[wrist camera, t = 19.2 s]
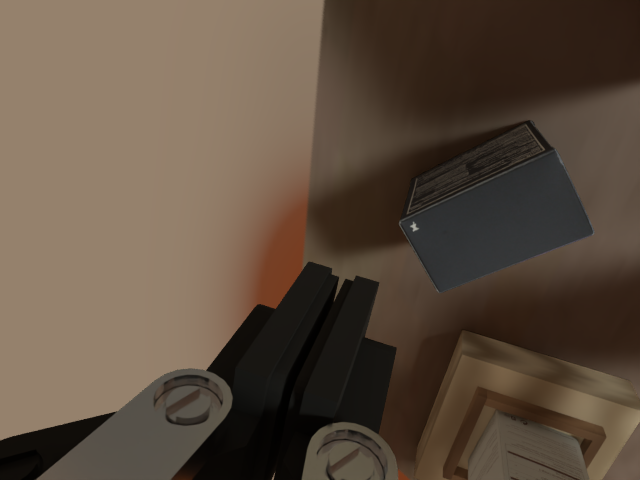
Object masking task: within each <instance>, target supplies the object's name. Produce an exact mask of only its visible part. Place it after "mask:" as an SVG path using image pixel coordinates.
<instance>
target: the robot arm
mask: <svg viewBox="0 0 640 480" xmlns="http://www.w3.org/2000/svg"><path fill="white" fill-rule="evenodd" d="M331 274H332V268H329V267H326V266H323V265H319V264H316V263H313V262H308V263H307V265H306V266H305V267H304V269H303V270H302V272H301V273H300V275H299V276H298V278H297V279H296V281H295V282H294V284H293V285H292V286H291V288H290V289H289V291H288V292H287V294H286V295H285V297H284V298H283V299H282V301H281V302H280V304H279V305H278V307H277V308H276V309H274V308H270V307H267V306H265V305H261V304H259V305H257V306H256V307H255V308H254V309H253V310H252V312H251V313H250V314H249V316H248V317H247V318H246V320H245V321H244V322H243V323H242V325H241V326H240V327H239V329H238V330H237V331H236V332H235V334H234V335H233V336H232V338H231V339H230V340H229V342H228V343H227V344H226V346H225V347H224V348H223V349H222V351H221V352H220V353H219V354H218V356H217V357H216V358H215V360H214V361H213V362H212V364H211V365H210V366H209V367H208V369H207V370H206V371H205V370H200V369H181V370H176V371H173V372H170V373H167V374H164V375H163V376H161V377H160V378H158V379H156V380H155V381H154V382H152V383H151V384H150V385H149V386H148V387H147V388H145V389H144V390H143V391H142V392H140V393H139V394H138V395H137V396H136V397H134V398H133V399H132V400H131V401H130V402H129V403H127V404H126V405H125V406H124V407H122V408H121V409H120V410H119V411H117V412H113V413H109V414H104V415H100V416H96V417H92V418H88V419H84V420H79V421H75V422H71V423H67V424H63V425H58V426H55V427H50V428H46V429H42V430H38V431H34V432H29V433H25V434H21V435H17V436H12V437H9V438H6V439H3V440H1V441H0V480H272V477H273V475H274V473H275V476H274V480H398V468H397V463H396V458H395V455H394V454H393V452H392V450H391V448H390V446H389V445H388V444H387V443H386V442H385V441H384V440H383V439H382V438H381V436H380V435H378V434H379V429H380V424H381V420H382V415H383V410H384V406H385V401H386V396H387V392H388V387H389V382H390V378H391V373H392V368H393V364H394V359H395V354H396V347H393V346H390V345H386V344H383V343H380V342H377V341H374V340H371V339H368V338H365V334H366V330H367V326H368V323H369V319H370V315H371V312H372V308H373V305H374V301H375V297H376V294H377V290H378V286H379V282H376V281H373V280H370V279H366V278H363V277H360V276H356V277H355V279H354V281H351V280H348V279H345V281H344V283H343V285H342V287H341V289H340V291H339V293H338V295H337V297H336V299H335V301H334V298H335V294H336V290H337V285H338V280H339V277H338V276H335V275H331Z"/></svg>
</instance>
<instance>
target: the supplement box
mask: <svg viewBox="0 0 640 480" xmlns="http://www.w3.org/2000/svg"><path fill="white" fill-rule="evenodd" d="M468 480H590V479H589V476H588V472H587V469H586V465H585V462H584V459H583V455H582V452H581V449H580V445H579V442H578V440H577V439H576V438H574V437H572V436H569V435H567V434H564V433H562V432H559V431H556V430H554V429H551V428H549V427H546V426H543V425H541V424H539V423H536V422H533V421H531V420H528V419H525V418H522V417H519V416H516V415H513V414H510V413H507V412H503V411H500V410H497V409H496V411H495V413H494V415H493V416H492V418H491V420H490V421H489V423H488V425H487V427H486V429H485V430H484V432H483V434H482V436H481V437H480V439H479V441H478V443H477V445H476V446H475V448H474V450H473V452H472V454H471V455H470V457H469V459H468Z"/></svg>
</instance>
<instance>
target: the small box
mask: <svg viewBox="0 0 640 480" xmlns="http://www.w3.org/2000/svg"><path fill="white" fill-rule="evenodd" d="M399 226H400V228H401V229H402V231H403V233H404V234H405V236H406V238H407V240H408V241H409V243H410V245H411V247H412V248H413V250H414V252H415V254H416V255H417V257H418V259H419V260H420V262H421V264H422V266H423V268H424V269H425V271H426V273H427V275H428V276H429V278H430V280H431V282H432V283H433V285H434V287H435V289H436V290H437V292H438V293H442V292H445V291H447V290H450V289H453V288H455V287H458V286H461V285H463V284H466V283H468V282H471V281H473V280H476V279H479V278H481V277H484V276H486V275H489V274H491V273H494V272H497V271H499V270H502V269H504V268H507V267H510V266H512V265H515V264H517V263H520V262H523V261H526V260H528V259H531V258H533V257H536V256H539V255H541V254H544V253H547V252H549V251H552V250H554V249H557V248H560V247H563V246H565V245H568V244H571V243H573V242H576V241H578V240H581V239H584V238H587V237H589V236H592V235H593V234H594V230H593V227H592V225H591V223H590V220H589V217H588V215H587V213H586V211H585V209H584V207H583V204H582V202H581V200H580V198H579V196H578V194H577V192H576V190H575V187H574V185H573V183H572V181H571V179H570V177H569V175H568V172H567V170H566V168H565V166H564V164H563V162H562V160H561V158H560V155H559V153H558V152H557V150H556V149H555V148H554V147H551V145H550V144H549V143H548V142H547V141H546V139H545V138H544V136H543V135H542V134H541V133H540V132H539V131H538V129H537V128H536V127H535V124H534V123H533V121H530V120H529V121H527V122H525V123H523V124H521V125H519V126H517V127H515V128H513V129H511V130H508V131H507V132H504V133H503V134H500V135H499V136H497V137H495V138H492V139H490V140H487V141H486V142H484V143H482V144H480V145H478V146H476V147H474V148H472V149H470V150H468V151H466V152H464V153H462V154H460V155H458V156H455V157H454V158H452V159H450V160H448V161H446V162H444V163H442V164H440V165H438V166H436V167H434V168H432V169H430V170H428V171H426V172H424V173H422V174H420V175H418V176H417V177H414V178H412V179H411V183H410V189H409V192H408V196H407V199H406V202H405V205H404V209H403V213H402V216H401V219H400V221H399Z"/></svg>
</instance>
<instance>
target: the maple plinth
mask: <svg viewBox="0 0 640 480" xmlns="http://www.w3.org/2000/svg"><path fill="white" fill-rule="evenodd" d="M496 409H497V410H500V411H503V412H507V413H510V414H513V415H516V416H519V417H522V418H525V419H528V420H531V421H533V422H536V423H539V424H541V425H543V426H546V427H549V428H551V429H554V430H556V431H559V432H562V433H564V434H567V435H569V436H572V437H574V438H576V439H577V440H578V442H579V445H580V449H581V452H582V455H583V459H584V462H585V465H586V469H587V472H588V476H589V479H590V480H602V479H603V477H604V475H605V474H606V472H607V471H608V469H609V468H610V466H611V465H612V463H613V462H614V460H615V459H616V457H617V456H618V454H619V452H620V451H621V449H622V448H623V446H624V445H625V443H626V442H627V440H628V439H629V437H630V436H631V434H632V432H633V431H634V429H635V428H636V426H637V425H638V423H639V422H640V400H639V398H638V396H637V394H636V392H635V390H634V388H633V385H632V383H631V381H629V380H625V379H622V378H619V377H616V376H612V375H609V374H606V373H603V372H599V371H596V370H593V369H590V368H586V367H583V366H580V365H576V364H573V363H570V362H567V361H563V360H560V359H557V358H554V357H550V356H547V355H544V354H541V353H537V352H534V351H531V350H527V349H524V348H521V347H518V346H514V345H511V344H508V343H505V342H501V341H498V340H495V339H492V338H488V337H485V336H482V335H478V334H475V333H472V332H469V331H465V330H462V332H461V334H460V337H459V340H458V342H457V345H456V347H455V350H454V353H453V355H452V358H451V361H450V363H449V366H448V368H447V371H446V374H445V376H444V379H443V381H442V384H441V387H440V389H439V392H438V394H437V397H436V400H435V402H434V405H433V408H432V410H431V413H430V415H429V418H428V421H427V423H426V426H425V428H424V431H423V434H422V436H421V439H420V441H419V444H418V447H417V454H416V462H415V471H414V478H416V479H419V480H468V459H469V457H470V455H471V454H472V452H473V450H474V448H475V446H476V445H477V443H478V441H479V439H480V437H481V436H482V434H483V432H484V430H485V429H486V427H487V425H488V423H489V421H490V420H491V418H492V416H493V415H494V413H495V411H496Z"/></svg>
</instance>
